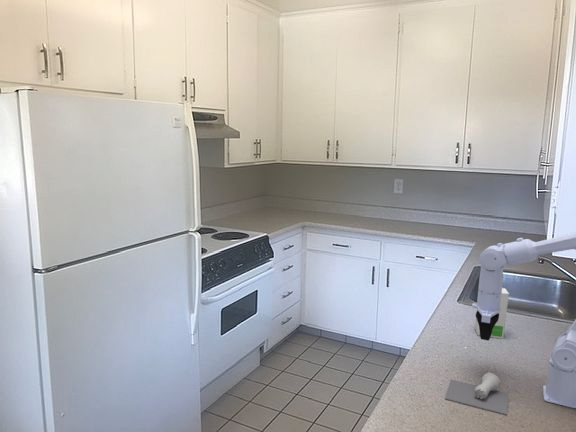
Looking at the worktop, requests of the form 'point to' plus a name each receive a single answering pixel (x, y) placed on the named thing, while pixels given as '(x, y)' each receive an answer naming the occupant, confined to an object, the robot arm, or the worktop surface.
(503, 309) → the skincare box
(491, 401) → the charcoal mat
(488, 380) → the rook chess piece
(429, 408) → the worktop surface
